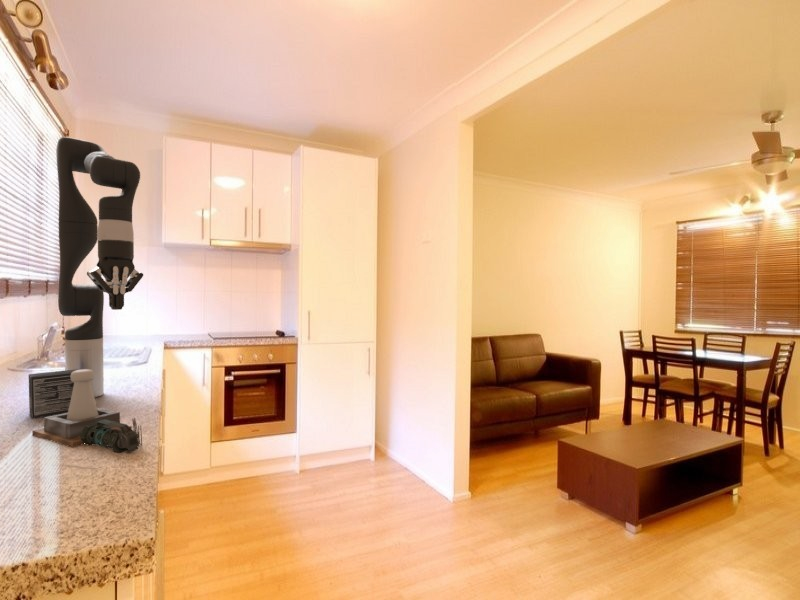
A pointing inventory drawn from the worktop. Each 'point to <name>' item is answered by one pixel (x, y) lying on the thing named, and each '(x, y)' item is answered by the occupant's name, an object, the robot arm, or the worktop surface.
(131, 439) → the stun grenade
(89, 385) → the salt shaker
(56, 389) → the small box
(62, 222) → the robot arm
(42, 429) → the socket board
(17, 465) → the worktop surface
